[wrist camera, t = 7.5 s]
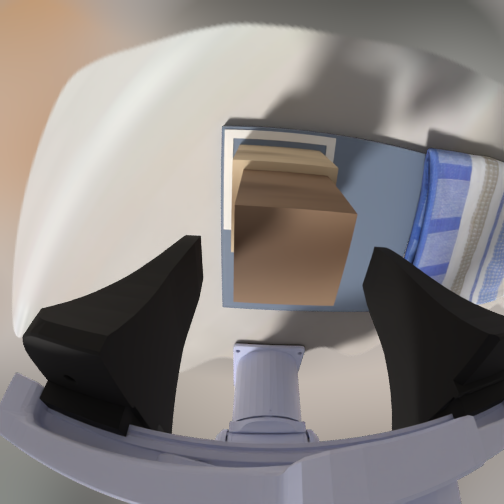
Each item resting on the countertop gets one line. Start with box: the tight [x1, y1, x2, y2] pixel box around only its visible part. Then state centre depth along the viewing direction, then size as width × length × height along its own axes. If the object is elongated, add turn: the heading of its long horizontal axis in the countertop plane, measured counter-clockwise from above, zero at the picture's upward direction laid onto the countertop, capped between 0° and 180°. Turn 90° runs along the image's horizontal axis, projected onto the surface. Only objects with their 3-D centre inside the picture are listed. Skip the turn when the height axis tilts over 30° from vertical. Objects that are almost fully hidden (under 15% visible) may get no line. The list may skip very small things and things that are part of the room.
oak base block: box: [231, 145, 339, 252], centre depth 17 cm, size 6×6×5 cm
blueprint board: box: [221, 126, 426, 312], centre depth 21 cm, size 16×16×1 cm
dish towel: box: [404, 148, 504, 304], centre depth 19 cm, size 17×24×3 cm
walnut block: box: [233, 169, 358, 306], centre depth 13 cm, size 4×4×5 cm
